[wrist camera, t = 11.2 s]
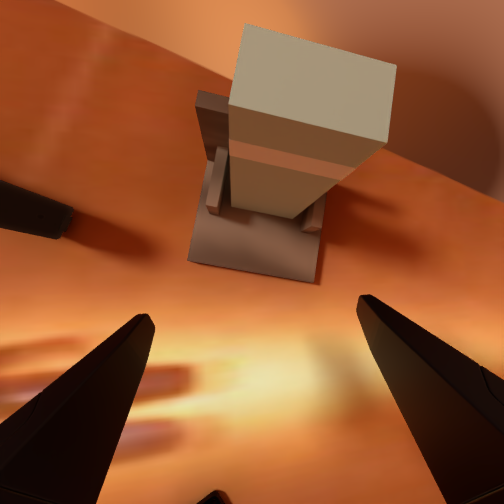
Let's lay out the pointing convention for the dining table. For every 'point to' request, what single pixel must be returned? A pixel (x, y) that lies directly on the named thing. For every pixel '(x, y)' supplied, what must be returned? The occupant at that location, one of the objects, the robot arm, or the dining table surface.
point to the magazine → (32, 212)
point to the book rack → (246, 214)
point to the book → (301, 119)
